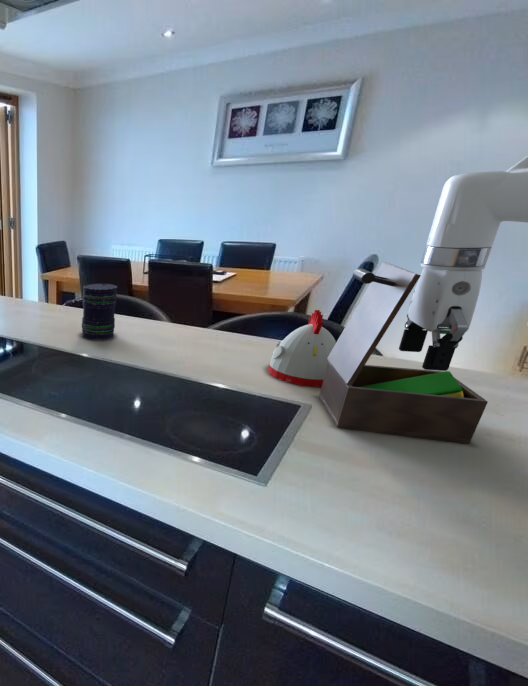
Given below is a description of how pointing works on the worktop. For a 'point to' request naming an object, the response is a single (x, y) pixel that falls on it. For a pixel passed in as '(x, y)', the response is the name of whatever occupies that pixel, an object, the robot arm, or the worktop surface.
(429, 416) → the chest
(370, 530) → the worktop surface
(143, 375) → the worktop surface
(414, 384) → the dish sponge
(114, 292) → the black striped canister
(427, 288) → the robot arm
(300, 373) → the kitchen timer
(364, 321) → the lid
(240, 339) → the worktop surface
